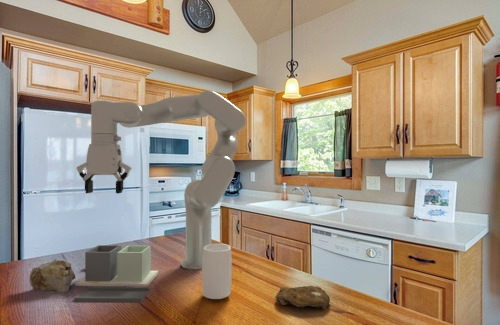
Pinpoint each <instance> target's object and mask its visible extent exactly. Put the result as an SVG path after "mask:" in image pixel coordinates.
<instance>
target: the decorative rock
mask: <svg viewBox="0 0 500 325" xmlns="http://www.w3.org/2000/svg"><path fill="white" fill-rule="evenodd" d="M274 299H275V302H277V303H279V305H281V306H285V305H294V306H295V307H296V308H303V309H304V308H305V307H315V308H320V307H321V309H322V310H326V309H327V307H328V306H329V305H330V304H331V303H330V302H331V299H330V296H329V295H328V294H327V292H326V291H325V290H324V289H322V287H319V286H317V285H316V286H314V285H306V286H305V285H304V286H294V287H289V286H281V287H280V289H279V291H278V292H277V293H276V295H275V296H274ZM329 303H330V304H329ZM328 304H329V305H328Z"/></svg>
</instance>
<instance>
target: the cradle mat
mask: <svg viewBox="0 0 500 325" xmlns="http://www.w3.org/2000/svg"><path fill="white" fill-rule="evenodd" d="M151 291H152V288H150V287H149V286H87V288H86V290H84V291H83V292H82V293H80V294H79V295H78V296H74V298H73V300H71V301H70V302H72V303H73V302H74V303H75V302H79V303H80V302H81V303H83V302H84V303H85V302H86V303H87V302H88V303H89V302H91V303H92V302H93V303H142V302H143V301H144V299H145V298H146V297H147V296H148V294H149V293H150V292H151Z"/></svg>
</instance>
